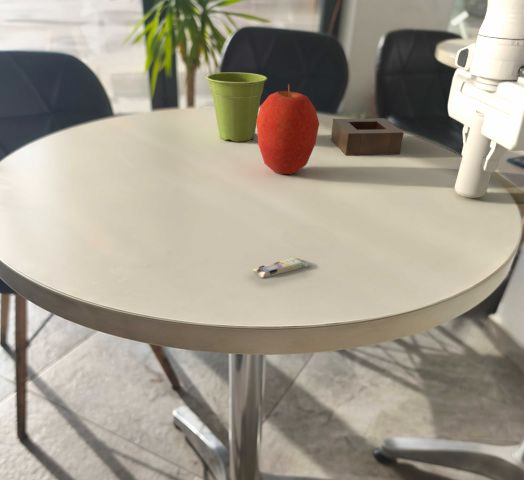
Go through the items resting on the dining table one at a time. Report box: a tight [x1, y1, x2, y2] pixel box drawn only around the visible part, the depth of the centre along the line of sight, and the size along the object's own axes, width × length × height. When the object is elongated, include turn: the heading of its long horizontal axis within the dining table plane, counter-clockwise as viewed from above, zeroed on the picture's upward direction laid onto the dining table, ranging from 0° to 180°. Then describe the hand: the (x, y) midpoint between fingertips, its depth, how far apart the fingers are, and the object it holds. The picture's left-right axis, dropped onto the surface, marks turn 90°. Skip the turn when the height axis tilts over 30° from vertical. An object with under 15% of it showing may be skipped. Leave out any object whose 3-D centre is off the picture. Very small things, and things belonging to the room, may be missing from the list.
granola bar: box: [251, 257, 310, 279], centre depth 59 cm, size 7×2×1 cm, turn 119°
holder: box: [330, 117, 405, 156], centre depth 99 cm, size 11×11×4 cm
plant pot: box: [205, 71, 268, 143], centre depth 99 cm, size 12×12×11 cm
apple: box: [256, 84, 320, 175], centre depth 82 cm, size 10×10×14 cm
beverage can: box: [454, 111, 493, 199], centre depth 75 cm, size 5×5×12 cm
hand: (477, 163), depth 76 cm, fingers closed on beverage can, 5 cm apart
